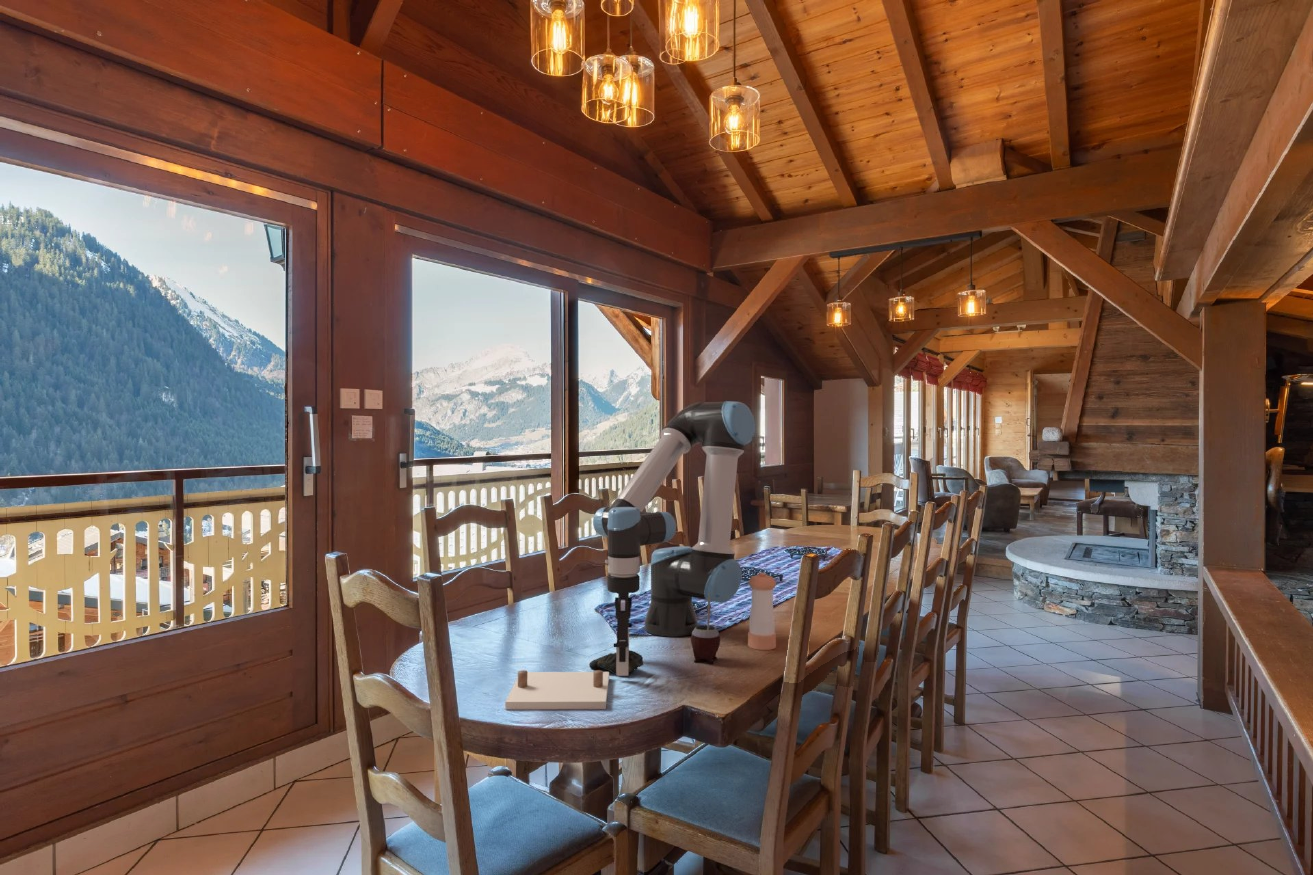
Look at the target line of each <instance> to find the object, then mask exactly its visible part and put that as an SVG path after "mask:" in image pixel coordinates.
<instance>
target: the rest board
mask: <svg viewBox="0 0 1313 875" xmlns="http://www.w3.org/2000/svg"><path fill="white" fill-rule="evenodd" d="M609 684H610V671H603V670H602V669H601V670H600V669H598V670H597V669H595V670H594V671H528V670H519V671H518V672H517V677H516V679H515V682H514V683H513V686H512V687H511V689H510V692H509V694H508V696H507V698H506V700H505V703H504V705H505V708H504V709H505V710H606V708H607V702H608V692H609Z"/></svg>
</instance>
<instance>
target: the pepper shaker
mask: <svg viewBox="0 0 1313 875" xmlns="http://www.w3.org/2000/svg"><path fill="white" fill-rule="evenodd" d="M748 585H749V587H750V588H751V607H750V612H749V622H748V624H749V626H748V627H749V630H748V632H747V647H749V648H751V649H754V650H758V651H769V650H770V651H771V650H773V649H775V648H776V647H777V633H776V630H775V628H776V617H775V611H774V609H775V608H774V589H775V588H776V585H777V582H776V579H775V578H774V577H772V576H771V575H768V574H766V573H765V572H761V571H760V572H759V574H755V575H753V576H751V578H750V579H749V581H748Z"/></svg>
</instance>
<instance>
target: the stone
mask: <svg viewBox="0 0 1313 875" xmlns="http://www.w3.org/2000/svg"><path fill="white" fill-rule="evenodd" d="M643 659H644V658H643V656H642V655H641V654H640V653H638V652H636V651H634V650H630V649H629V655H628V674H629V673H630V672H634V671H635V670H637V669H638V668H640V667H642V666H644V661H643ZM588 665H589V668H590V669H592V670H597V669H598V670H600V669H601V670H602V669H604V670H608V672H611V673H613V674H614V675H616V652H614V653H611V652H610V653H609V654H605V655H603V656H601V657H598V658H596V659H593V660H591V661H590V662H589V664H588Z"/></svg>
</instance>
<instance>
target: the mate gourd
mask: <svg viewBox="0 0 1313 875" xmlns="http://www.w3.org/2000/svg"><path fill="white" fill-rule="evenodd" d="M710 598H711V594H709V596H708V601H707V606H706V607H707V615H706V616H707V618H706V619H707V623H706V624H702V625H701V624H700V625H698V626H696V627H695V628H694V630H693V632H692V634H690V635H691V636H690V644H691V647H692V652H693V657H694V659H693V663H695V664H697V663H702V662H705V663H706V664H709V665H710V666H711V665H714V661H715V660H717V658H718V657H717V656H716V655H717V653H718V651H719V648H720V645H721V636H720V633H719V631H718V629H717V627H715V626H713V625H710V618H711V616H710V615H711V607H712V606H711V602H710Z"/></svg>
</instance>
